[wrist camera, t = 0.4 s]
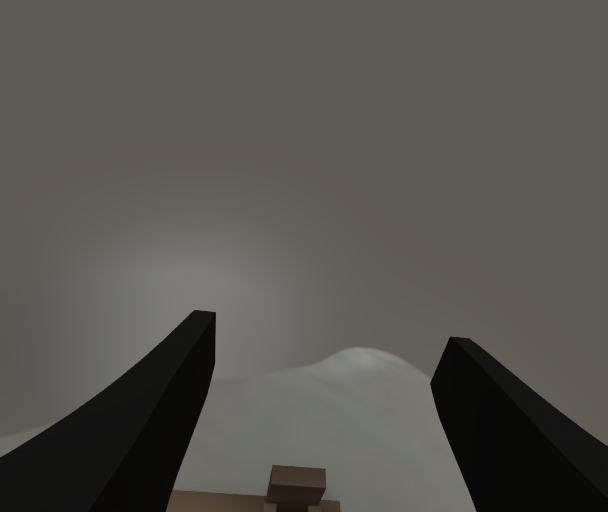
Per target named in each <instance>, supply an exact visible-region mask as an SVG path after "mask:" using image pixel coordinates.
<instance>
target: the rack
mask: <svg viewBox="0 0 608 512" xmlns="http://www.w3.org/2000/svg"><path fill="white" fill-rule="evenodd" d="M325 489H326V472H325V469H321V468H307V467H293V466H279V465H273V466H272V471H271V476H270V481H269V486H268V491H267V496H254V495H239V494H223V493H208V492H192V491H177V490H172V492H171V496H170V499H169V503H168V506H167V510H166V512H340V501H331V500H321V498H322V496H323V494H324V491H325Z"/></svg>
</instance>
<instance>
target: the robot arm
mask: <svg viewBox="0 0 608 512" xmlns="http://www.w3.org/2000/svg"><path fill="white" fill-rule="evenodd" d="M215 328H216V312H209V311H200V310H194V311H193V312H192V313H191V314H190V315H189V316H188V317H187V318H186V319H185V320H183V322H181V323H180V325H178V327H176V328H175V329H174V331H172V332H171V333H170V334H169V335H168V336H167V337H166V338H165V339H164V340H163V341H162V342H160V343H159V345H157V346H156V347H155V348H154V349H153V350H152V351H150V352H149V353H148V354H147V355H146V356H145V357H144V358H143V359H141V360H140V361H139V362H138V363H137V364H135V365H134V366H133V367H132V368H131V369H129V370H128V371H127V372H126V373H124V374H123V375H122V376H121V377H120V378H118V379H117V380H116V381H115V382H113V383H112V384H111V385H110V386H108V387H107V388H105V389H104V390H103V391H102V392H100V393H99V394H97V395H96V396H95V397H93V398H92V399H91V400H89V401H88V402H86V403H85V404H84V405H82V406H81V407H79V408H78V409H77V410H75V411H74V412H72V413H71V414H69V415H68V416H66V417H65V418H63V419H62V420H60V421H58V422H57V423H55V424H54V425H52V426H51V427H49V428H48V429H46V430H45V431H43V432H41V433H40V434H38V435H37V436H35V437H33V438H32V439H30V440H29V441H27V442H25V443H24V444H22V445H21V446H19V447H17V448H16V449H14V450H12V451H11V452H9V453H7V454H5V455H4V456H2V457H0V512H166V510H167V506H168V503H169V499H170V496H171V492H172V489H173V486H174V483H175V480H176V477H177V474H178V472H179V469H180V466H181V464H182V461H183V458H184V456H185V453H186V450H187V448H188V445H189V443H190V440H191V437H192V435H193V432H194V429H195V427H196V424H197V421H198V419H199V416H200V413H201V410H202V408H203V405H204V402H205V400H206V397H207V394H208V390H209V386H210V382H211V378H212V374H213V370H214V366H215V334H216V333H215V332H216V331H215V330H216V329H215ZM430 385H431V389H432V393H433V397H434V402H435V405H436V409H437V412H438V416H439V418H440V421H441V424H442V426H443V429H444V431H445V434H446V436H447V439H448V441H449V444H450V446H451V449H452V451H453V454H454V456H455V458H456V461H457V463H458V466H459V468H460V471H461V473H462V476H463V478H464V481H465V483H466V485H467V488H468V490H469V493H470V495H471V498H472V501H473V503H474V506H475V509H476V512H608V446H606V445H605V444H603V443H602V442H600V441H599V440H598V439H596V438H595V437H593V436H592V435H591V434H589V433H588V432H586V431H585V430H584V429H582V428H581V427H580V426H578V425H577V424H576V423H574V422H573V421H572V420H570V419H569V418H568V417H566V416H565V415H564V414H563V413H561V412H560V411H559V410H557V409H556V408H555V407H553V406H552V405H551V404H550V403H548V402H547V401H546V400H545V399H543V398H542V397H541V396H540V395H538V394H537V393H536V392H534V391H533V390H532V389H531V388H530V387H529V386H527V385H526V384H525V383H523V382H522V381H521V380H520V379H519V378H518V377H516V376H515V375H514V374H513V373H511V372H510V371H509V370H508V369H507V368H505V367H504V366H503V365H502V364H501V363H499V362H498V361H497V360H496V359H495V358H494V357H492V356H491V355H490V354H489V353H487V352H486V351H485V350H484V349H482V348H481V347H480V346H479V345H477V344H476V343H475V342H473V341H472V340H470V339H469V338H459V337H450V338H449V341H448V343H447V345H446V348H445V350H444V352H443V355H442V357H441V359H440V362H439V364H438V366H437V369H436V371H435V373H434V376H433V378H432V380H431V383H430Z"/></svg>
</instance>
